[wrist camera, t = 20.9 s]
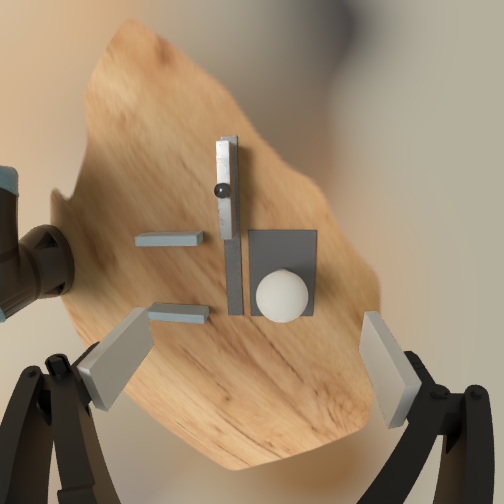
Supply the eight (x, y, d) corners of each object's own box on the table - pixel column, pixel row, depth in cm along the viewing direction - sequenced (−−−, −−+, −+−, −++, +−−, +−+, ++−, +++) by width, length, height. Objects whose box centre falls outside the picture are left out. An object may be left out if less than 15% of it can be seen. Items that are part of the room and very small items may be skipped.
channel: (155, 310, 47) (147, 319, 43) (144, 232, 43) (134, 236, 40) (209, 313, 46) (204, 323, 42) (202, 230, 42) (196, 235, 39)
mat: (251, 314, 45) (250, 315, 45) (248, 230, 41) (248, 230, 41) (312, 315, 44) (312, 316, 44) (316, 229, 40) (316, 230, 40)
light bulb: (310, 265, 41) (320, 295, 31) (291, 301, 43) (294, 339, 33) (270, 247, 41) (268, 272, 31) (253, 285, 43) (245, 319, 33)
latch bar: (225, 232, 41) (216, 241, 36) (221, 145, 38) (212, 140, 32) (238, 232, 41) (231, 241, 36) (235, 144, 38) (228, 139, 32)
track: (228, 314, 45) (228, 314, 45) (220, 137, 38) (220, 136, 38) (243, 314, 45) (242, 315, 45) (237, 136, 38) (236, 135, 38)
